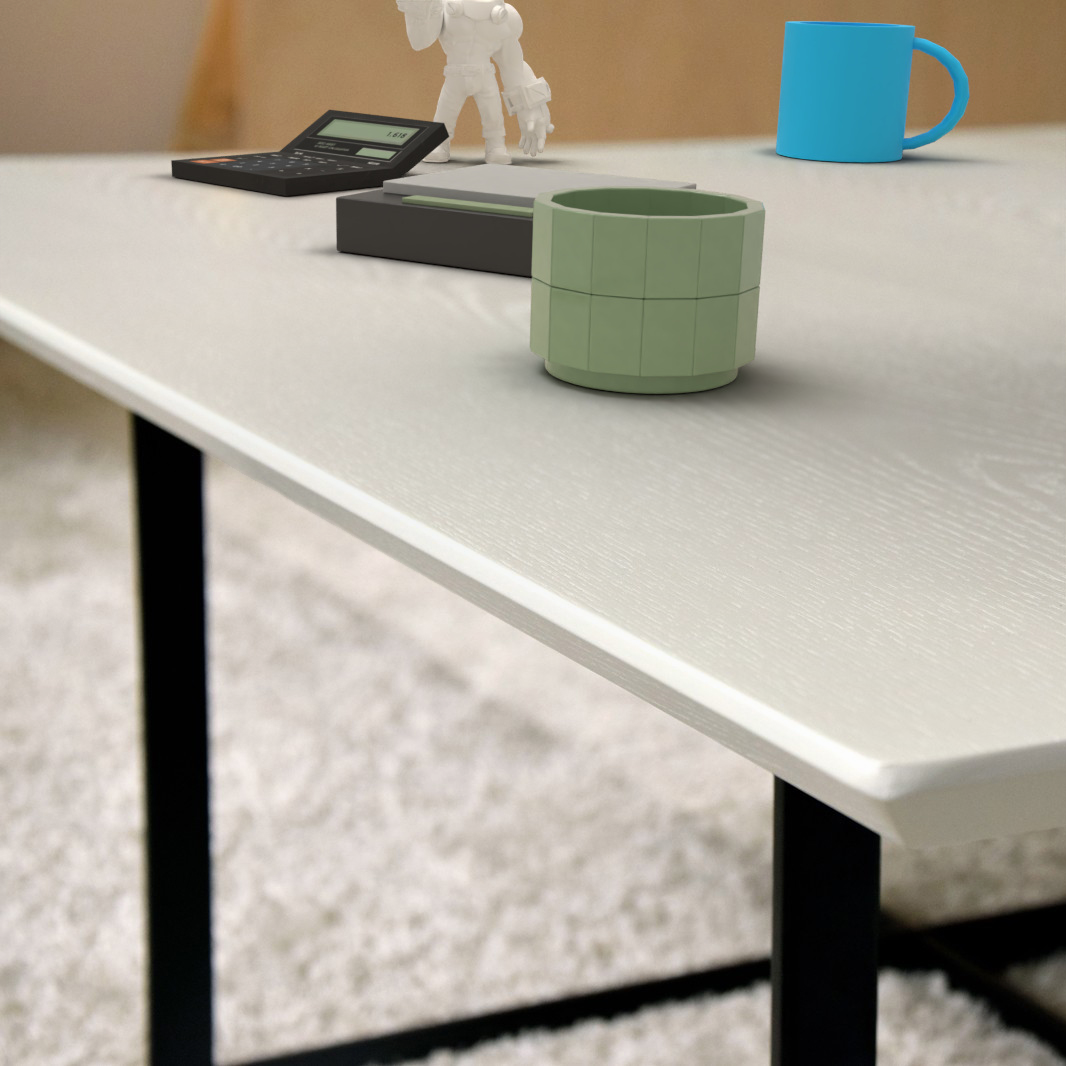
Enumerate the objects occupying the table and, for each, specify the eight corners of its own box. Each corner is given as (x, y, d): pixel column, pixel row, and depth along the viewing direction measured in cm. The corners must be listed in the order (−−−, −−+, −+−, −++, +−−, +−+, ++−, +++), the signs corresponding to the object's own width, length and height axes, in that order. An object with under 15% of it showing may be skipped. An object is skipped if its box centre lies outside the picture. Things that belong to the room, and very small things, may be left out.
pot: (786, 364, 50) (799, 199, 48) (693, 411, 44) (704, 226, 43) (596, 335, 53) (602, 179, 51) (487, 376, 47) (490, 202, 46)
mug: (775, 158, 103) (785, 24, 101) (775, 145, 111) (785, 20, 108) (969, 167, 102) (984, 30, 99) (956, 153, 109) (970, 26, 107)
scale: (714, 247, 70) (718, 184, 69) (593, 285, 61) (596, 213, 60) (477, 219, 76) (479, 160, 75) (335, 251, 67) (334, 184, 66)
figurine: (418, 170, 93) (418, -53, 89) (371, 160, 97) (369, -54, 93) (561, 161, 99) (567, -49, 95) (511, 152, 102) (515, -50, 98)
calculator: (172, 176, 87) (169, 119, 86) (335, 161, 96) (334, 109, 95) (285, 196, 82) (284, 134, 81) (448, 178, 90) (449, 122, 89)
